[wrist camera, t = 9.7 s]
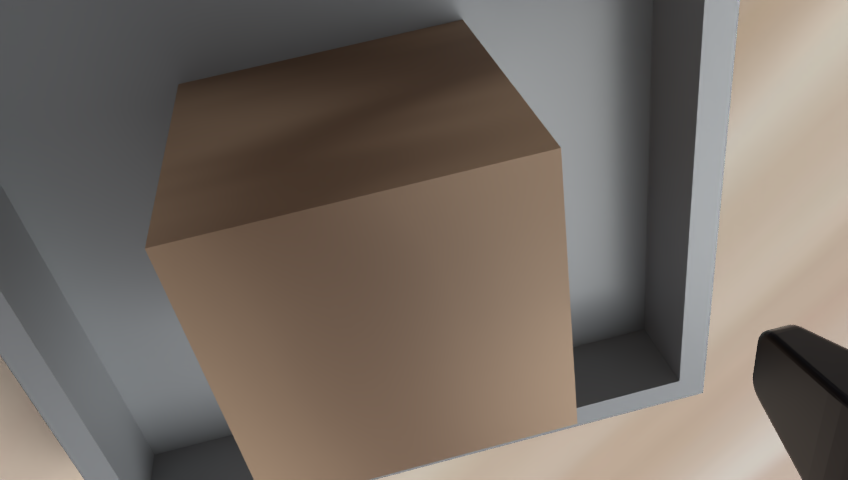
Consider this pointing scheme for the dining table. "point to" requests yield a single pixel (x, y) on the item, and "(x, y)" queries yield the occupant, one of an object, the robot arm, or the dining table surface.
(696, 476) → the dining table surface
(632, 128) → the gray tray
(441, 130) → the walnut block
